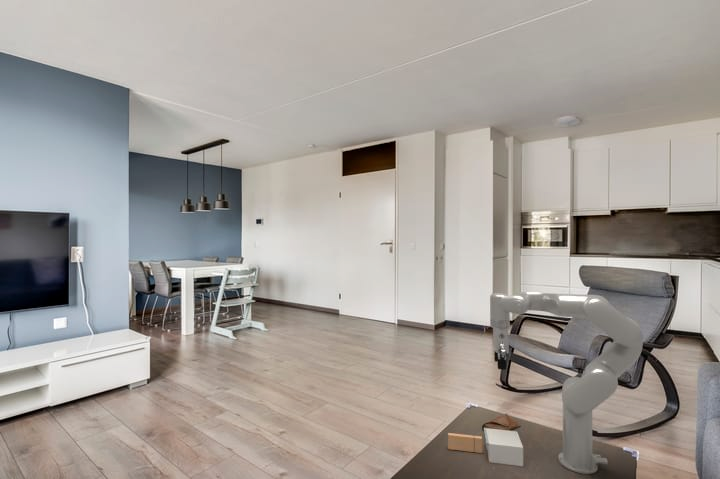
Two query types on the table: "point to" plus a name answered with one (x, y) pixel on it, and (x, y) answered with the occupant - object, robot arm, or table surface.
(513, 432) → the white box
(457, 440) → the tan banded plank
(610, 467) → the table surface
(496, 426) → the sunglasses case
